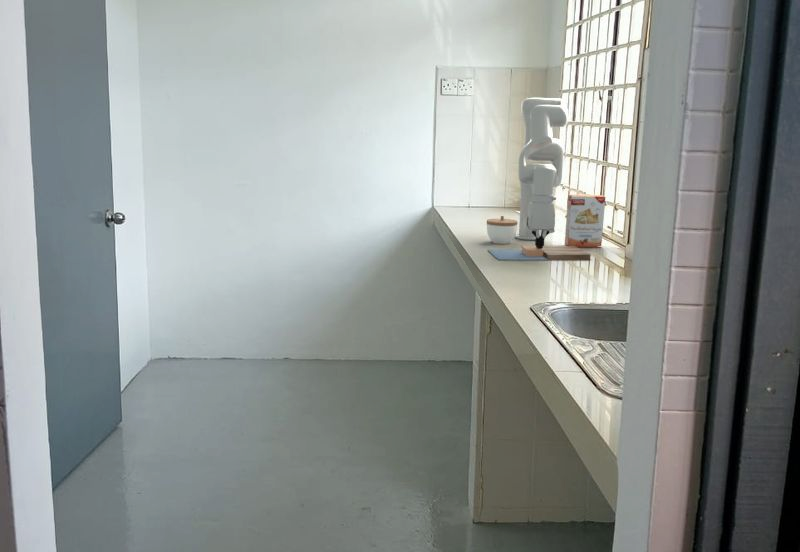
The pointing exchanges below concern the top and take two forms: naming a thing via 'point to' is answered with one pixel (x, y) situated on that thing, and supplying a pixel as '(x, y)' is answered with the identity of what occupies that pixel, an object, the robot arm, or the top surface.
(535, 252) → the block
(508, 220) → the lidded bowl
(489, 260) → the top surface
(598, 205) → the cracker box
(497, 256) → the mat
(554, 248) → the board
